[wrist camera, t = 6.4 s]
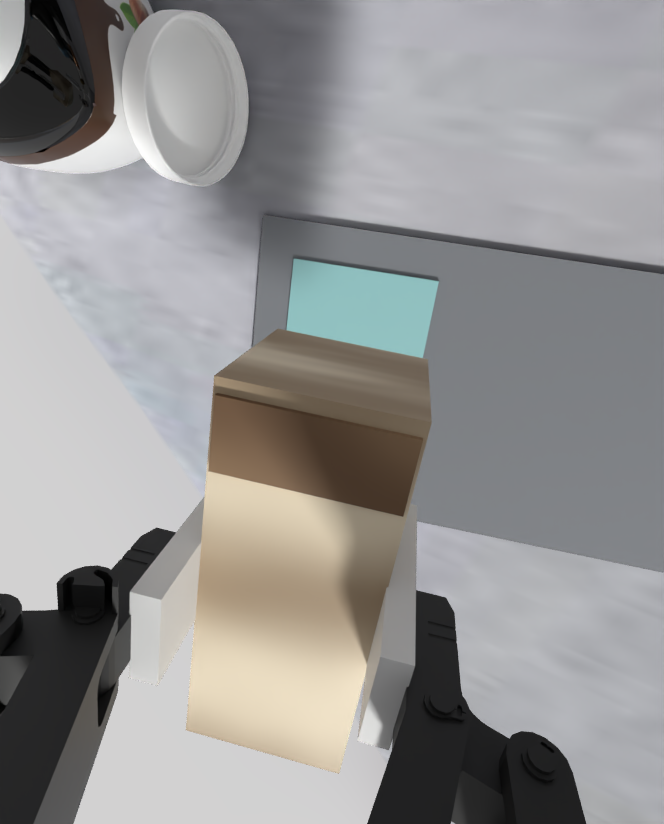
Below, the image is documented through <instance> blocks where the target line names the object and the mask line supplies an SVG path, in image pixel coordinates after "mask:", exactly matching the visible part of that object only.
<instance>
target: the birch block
mask: <svg viewBox="0 0 664 824" xmlns="http://www.w3.org/2000/svg"><path fill="white" fill-rule="evenodd" d="M431 423H432V419H431V402H430V386H429V369H428V359H425V358H420V357H415V356H410V355H405V354H400V353H395V352H390V351H385V350H381V349H376V348H371V347H366V346H361V345H356V344H351V343H346V342H341V341H336V340H332V339H327V338H322V337H317V336H312V335H307V334H302V333H297V332H292V331H287V330H283V329H276V330H275V331H274V332H272V333H271V334H270V335H268V336H267V337H266V338H264V339H263V340H262V341H260V342H259V343H258V344H256V345H255V346H253V347H252V348H251V349H249V350H248V351H247V352H245V353H244V354H243V355H241V356H240V357H239V358H237V359H236V360H235V361H233V362H232V363H231V364H229V365H228V366H227V367H225V368H224V369H223V370H221V371H220V372H219V373H217V374H216V375H214V386H213V398H212V411H211V423H210V436H209V448H208V461H207V473H206V486H205V498H204V511H203V523H202V536H201V554H200V566H199V579H198V592H197V605H196V618H195V623H194V636H193V648H192V661H191V673H190V686H189V698H188V711H187V712H188V713H187V723H186V730H187V731H191V732H194V733H198V734H201V735H205V736H208V737H212V738H216V739H219V740H222V741H226V742H230V743H233V744H237V745H240V746H243V747H247V748H251V749H254V750H257V751H261V752H265V753H268V754H272V755H275V756H279V757H282V758H285V759H289V760H292V761H296V762H299V763H303V764H306V765H310V766H314V767H317V768H320V769H324V770H328V771H331V772H335V773H338V774H339V772H340V768H341V765H342V761H343V757H344V753H345V749H346V745H347V742H348V738H349V734H350V730H351V726H352V723H353V719H354V715H355V712H356V708H357V704H358V700H359V696H360V693H361V689H362V685H363V681H364V677H365V674H366V666H367V661H368V657H369V653H370V649H371V646H372V642H373V638H374V634H375V630H376V626H377V623H378V619H379V615H380V611H381V607H382V603H383V599H384V596H385V592H386V588H387V587H388V586H389V583H390V579H391V575H392V571H393V567H394V564H395V560H396V556H397V552H398V549H399V545H400V541H401V537H402V533H403V530H404V526H405V522H406V518H407V514H408V511H409V507H410V503H411V499H412V495H413V492H414V488H415V484H416V480H417V476H418V473H419V469H420V465H421V461H422V458H423V454H424V450H425V446H426V442H427V439H428V435H429V431H430V427H431Z"/></svg>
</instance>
